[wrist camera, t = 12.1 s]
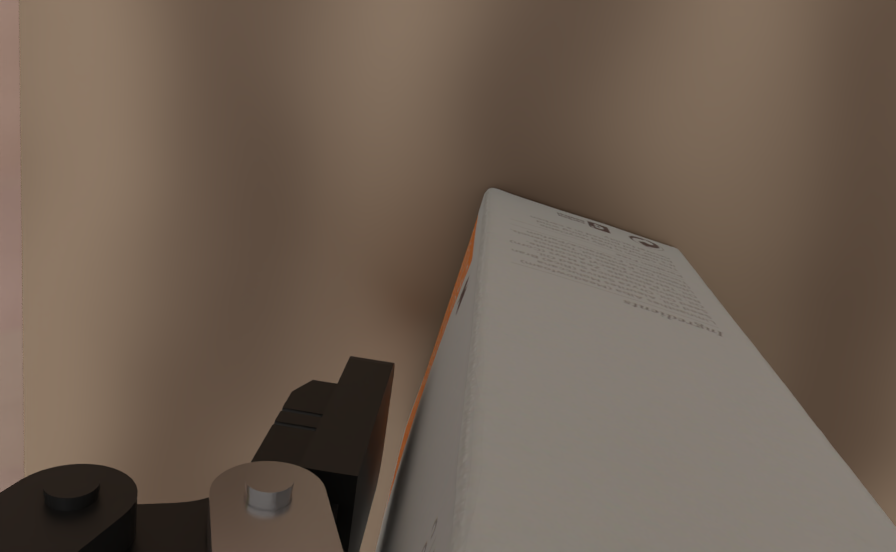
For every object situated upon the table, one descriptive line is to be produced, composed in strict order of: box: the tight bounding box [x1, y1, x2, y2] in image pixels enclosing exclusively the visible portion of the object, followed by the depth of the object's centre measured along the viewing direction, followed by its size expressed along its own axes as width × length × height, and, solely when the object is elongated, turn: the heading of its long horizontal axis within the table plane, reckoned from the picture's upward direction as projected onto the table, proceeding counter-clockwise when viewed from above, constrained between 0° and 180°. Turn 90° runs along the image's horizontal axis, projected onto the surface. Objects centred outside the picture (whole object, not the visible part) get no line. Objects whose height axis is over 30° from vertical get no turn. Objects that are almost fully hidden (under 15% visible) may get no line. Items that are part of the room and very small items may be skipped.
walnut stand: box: [19, 0, 896, 552], centre depth 19 cm, size 22×18×4 cm
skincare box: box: [375, 188, 896, 552], centre depth 11 cm, size 6×4×12 cm
